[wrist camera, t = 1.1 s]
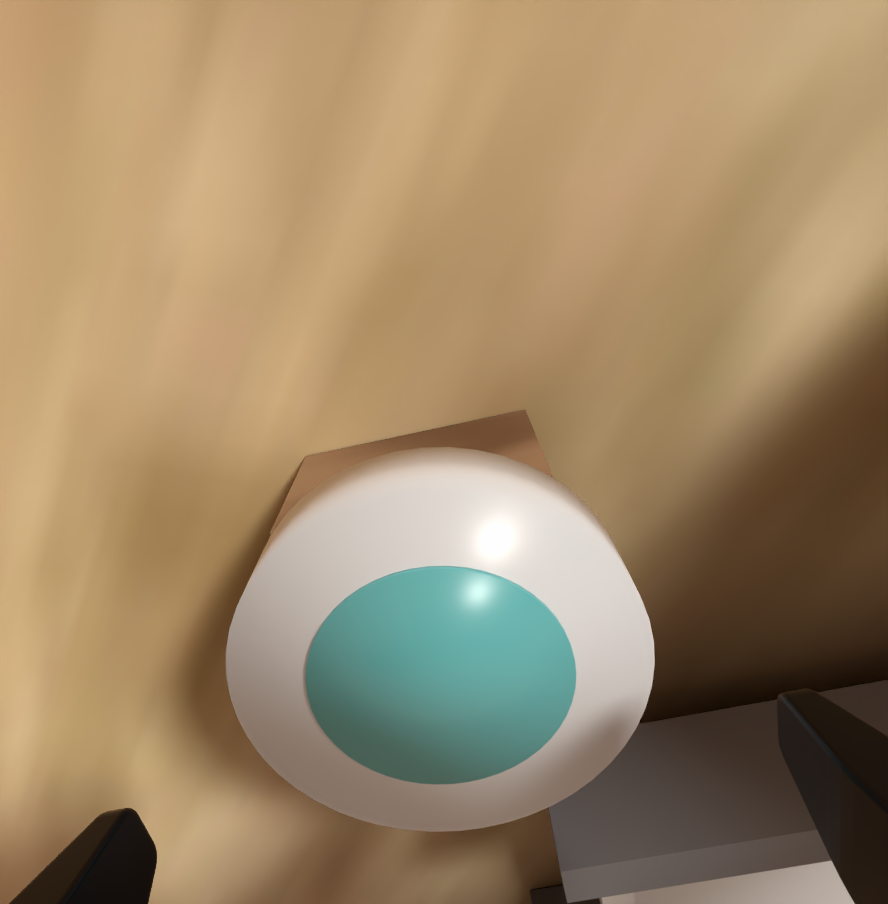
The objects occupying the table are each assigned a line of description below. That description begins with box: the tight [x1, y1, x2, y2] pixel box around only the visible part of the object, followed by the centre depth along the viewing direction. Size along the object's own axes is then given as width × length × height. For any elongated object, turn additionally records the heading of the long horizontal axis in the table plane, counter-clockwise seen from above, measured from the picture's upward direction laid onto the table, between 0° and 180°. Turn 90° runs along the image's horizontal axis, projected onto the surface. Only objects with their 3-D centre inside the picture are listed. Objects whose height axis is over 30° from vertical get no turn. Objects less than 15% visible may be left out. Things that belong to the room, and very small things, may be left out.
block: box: [270, 410, 552, 535], centre depth 14 cm, size 5×5×4 cm
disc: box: [226, 447, 655, 832], centre depth 11 cm, size 7×7×2 cm
